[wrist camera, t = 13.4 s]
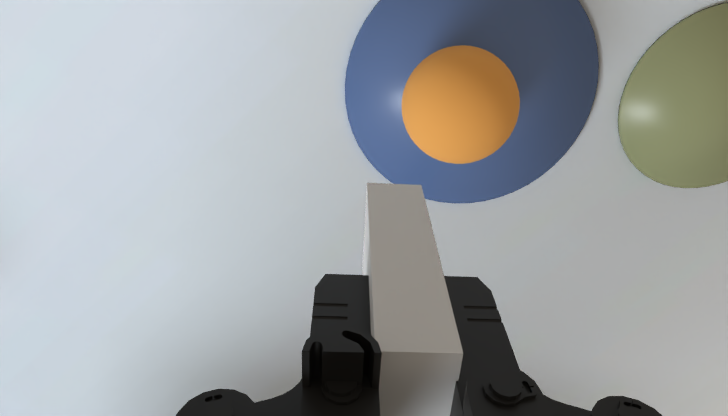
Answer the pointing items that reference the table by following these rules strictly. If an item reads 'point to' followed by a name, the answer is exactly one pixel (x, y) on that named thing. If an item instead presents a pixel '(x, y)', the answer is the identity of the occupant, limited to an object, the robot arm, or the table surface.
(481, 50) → the ball
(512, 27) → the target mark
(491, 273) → the table surface
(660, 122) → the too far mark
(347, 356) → the robot arm
